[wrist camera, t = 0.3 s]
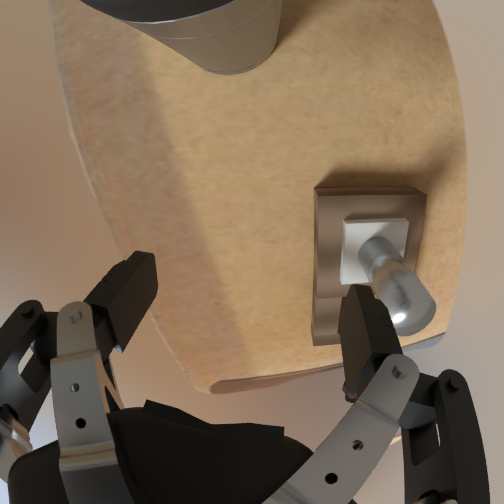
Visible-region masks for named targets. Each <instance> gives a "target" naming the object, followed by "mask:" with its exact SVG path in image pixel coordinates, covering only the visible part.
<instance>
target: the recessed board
mask: <svg viewBox="0 0 504 504" xmlns="http://www.w3.org/2000/svg"><path fill="white" fill-rule="evenodd" d="M426 197H427V195H425V194H424V193H422V192H420V191H419V190H417V189H416V188H414V187H336V188H314V277H313V303H312V323H311V334H312V340H313V346H322V345H332V344H341V340H340V333H339V316H340V309H341V301H342V297H346V296H347V293H348V291H349V288H350V286H351V284H361V285H369V286H371V285H370V283H369V281H368V279H367V277H366V275H365V273H364V271H363V269H362V267H361V266H360V264H359V261H358V252H359V249H360V247H361V246H362V245H363V243H364V242H366V241H367V240H368V239H370V238H372V237H377V236H380V237H384V238H386V239H388V240H389V241H390V242H391V244H392V245H393V246H394V247H395V249H396V250H397V251H398V252H399V254H400V255H401V256H402V257H403V259H404V260H405V261H406V263H407V264H408V265H409V266H410V268H411V269H412V270H413V272H414V269H415V265H416V260H417V255H418V250H419V245H420V239H421V233H422V227H423V220H424V213H425V205H426ZM371 288H372V287H371ZM372 291H373V289H372ZM373 294H375V293H374V291H373Z"/></svg>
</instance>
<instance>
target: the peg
mask: <svg viewBox="0 0 504 504" xmlns="http://www.w3.org/2000/svg"><path fill="white" fill-rule="evenodd" d="M358 261H359V264H360V266H361V267H362V269H363V271H364V273H365V275H366V277H367V279H368V281H369V283H370V285H371V287H372V289H373V291H374V293H375V295H376V297H377V299H380V300H381V301H382V302H383V303H384V305H385V306H386V307H387V308H388V311H389V313H390V316H391V320H392V322H393V325H394V328H395V331H396V334H397V335H398V336H410V335H413V334H416V333H418V332H419V331H421V330H422V329H424V328H425V327H426V326H427V325H428V324H429V323H430V322H431V320H432V319H433V317H434V315H435V312H436V303H435V301H434V300H433V298H432V297H431V295H430V294H429V292H428V291H427V290H426V288H425V287H424V285H423V284H422V283H421V281H420V280H419V279H418V277H417V276H416V274H415V273H414V272H413V270H412V269H411V268H410V266H409V265H408V264H407V263H406V261H405V260H404V259H403V257H402V256H401V255H400V254H399V252H398V251H397V250H396V249H395V247H394V246H393V245H392V244H391V242H390V241H389V240H388V239H386V238H384V237H380V236H377V237H372V238H370V239H368V240H367V241H366V242H364V243H363V245H362V246H361V247H360V249H359V252H358Z"/></svg>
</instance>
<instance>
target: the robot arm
mask: <svg viewBox="0 0 504 504" xmlns="http://www.w3.org/2000/svg"><path fill="white" fill-rule="evenodd" d="M81 1H82V2H83V3H85V4H87V5H89V6H90V7H92V8H94V9H97V10H99V11H101V12H103V13H106V14H108V15H110V16H112V17H114V18H116V19H118V20H120V21H122V22H124V23H126V24H128V25H130V26H132V27H134V28H136V29H138V30H140V31H141V32H144V33H146V34H147V35H149V36H151V37H153V38H154V39H156V40H158V41H160V42H161V43H163V44H165V45H166V46H168V47H170V48H171V49H173V50H175V51H176V52H178V53H179V54H181V55H183V56H184V57H186V58H187V59H189V60H190V61H192V62H193V63H195V64H196V65H198V66H199V67H201V68H203V69H205V70H206V71H209V72H212V73H216V74H223V75H231V74H239V73H244V72H246V71H249V70H251V69H254V68H255V67H257V66H259V65H260V64H262V63H263V62H264V61H265V60H266V59H267V58H268V57H269V56H270V54H271V53H272V51H273V50H274V48H275V45H276V43H277V37H278V31H279V25H280V19H281V12H282V5H283V0H81ZM157 290H158V280H157V272H156V263H155V256H154V254H153V253H148V252H142V251H135V252H134V253H133V254H132V255H131V256H130V257H129V258H128V259H127V260H123V261H121V262H120V263H118V264H116V265H114V266H113V267H112V268H111V269H110V271H109V272H108V273H107V275H105V276H104V277H103V278H102V281H100V282H99V283H98V284H97V285H96V287H95V288H94V289H93V290H92V291H91V292H90V293H89V295H88V296H87V297H86V298H85V299H84V301H83V302H80V301H76V302H71V303H69V304H67V305H65V306H64V307H63V308H62V309H61V310H60V311H59V312H45V311H44V309H43V307H42V304H41V303H40V302H39V301H37V300H28V301H25V302H23V303H22V304H20V305H19V306H18V307H17V308H16V310H15V311H14V312H13V313H12V314H11V316H10V317H9V318H8V319H7V320H6V322H5V323H4V324H3V326H2V327H1V328H0V478H1V479H2V480H4V481H5V482H6V483H7V484H8V493H9V503H10V504H357V503H356V502H355V501H354V500H353V499H352V498H353V497H354V496H355V494H356V493H357V492H358V490H359V489H360V488H361V486H362V485H363V484H364V482H365V481H366V480H367V478H368V477H369V475H370V474H371V472H372V471H373V470H374V468H375V467H376V465H377V464H378V462H379V460H380V459H381V457H382V456H383V454H384V453H385V451H386V449H387V448H388V446H389V445H390V443H391V441H392V439H393V438H394V436H395V434H396V433H397V431H398V429H399V427H401V434H402V445H403V458H404V482H405V504H490V492H489V481H488V473H487V466H486V459H485V454H484V447H483V443H482V438H481V433H480V428H479V424H478V420H477V416H476V412H475V408H474V405H473V401H472V398H471V394H470V391H469V388H468V385H467V382H466V380H465V378H464V377H463V376H462V375H461V374H460V373H459V372H457V371H455V370H452V369H448V370H444V371H443V372H442V373H441V374H440V375H439V376H438V377H433V376H430V375H426V374H423V373H420V372H419V369H418V367H417V365H416V364H415V362H414V361H413V360H412V359H410V358H409V357H407V356H405V355H403V352H402V349H401V346H400V343H399V340H398V337H397V334H396V331H395V328H394V325H393V322H392V320H391V316H390V313H389V311H388V308H387V307H386V306H385V305H384V303H383V302H382V301H381V300H380V299H375V297H374V294H373V291H372V288H371V286H369V285H361V284H351V286H350V288H349V291H348V293H347V296H346V299H345V302H344V304H343V307H342V310H341V312H340V316H339V333H340V340H341V348H342V355H343V363H344V372H345V381H346V391H347V393H357V400H356V401H355V403H354V404H353V405H352V407H351V408H350V409H349V411H348V412H347V413H346V414H345V416H344V417H343V418H342V419H341V421H340V422H339V423H338V425H337V426H336V427H335V428H334V429H333V430H332V432H331V433H330V434H329V435H328V436H327V438H326V439H325V440H324V441H323V442H322V443H321V444H320V445H319V446H318V447H317V449H316V450H315V451H314V452H312V451H311V450H310V449H309V448H308V447H306V446H305V445H303V444H302V443H300V442H298V441H297V440H294V439H292V438H290V437H287V436H284V427H280V426H271V425H261V424H254V423H239V424H209V423H207V422H204V421H202V420H200V419H198V418H196V417H194V416H192V415H190V414H188V413H186V412H184V411H182V410H180V409H178V408H175V407H171V406H167V405H164V404H160V403H157V402H153V401H150V400H146V402H145V405H144V407H132V408H125V407H124V405H123V403H122V400H121V398H120V394H119V391H118V388H117V384H116V380H115V376H114V372H113V367H112V363H111V359H110V356H109V355H110V353H111V352H112V350H114V351H117V352H120V353H123V351H124V350H125V348H126V346H127V344H128V343H129V340H130V339H131V337H132V336H133V334H134V332H135V330H136V329H137V327H138V325H139V323H140V322H141V320H142V318H143V317H144V315H145V313H146V312H147V310H148V309H149V307H150V305H151V304H152V302H153V300H154V299H155V297H156V294H157ZM29 347H30V348H31V350H32V351H33V353H34V354H33V355H32V357H31V358H30V360H29V362H28V363H27V364H26V366H25V368H24V370H23V371H22V373H21V374H20V375H19V372H18V364H19V362H20V360H21V359H22V357H23V356H24V354H25V352H26V351H27V350H28V348H29ZM51 387H52V397H53V407H54V415H55V422H56V429H57V435H58V440H56V441H54V442H51V443H49V444H47V445H45V446H43V447H40V448H38V449H36V450H33V447H32V444H31V443H30V437H29V431H30V429H31V427H32V425H33V423H34V420H35V419H36V416H37V414H38V412H39V410H40V408H41V406H42V404H43V402H44V400H45V398H46V396H47V395H48V393H49V391H50V389H51ZM436 424H438V430H439V437H440V446H439V441H438V435H437V429H436ZM32 450H33V451H32Z"/></svg>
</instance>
